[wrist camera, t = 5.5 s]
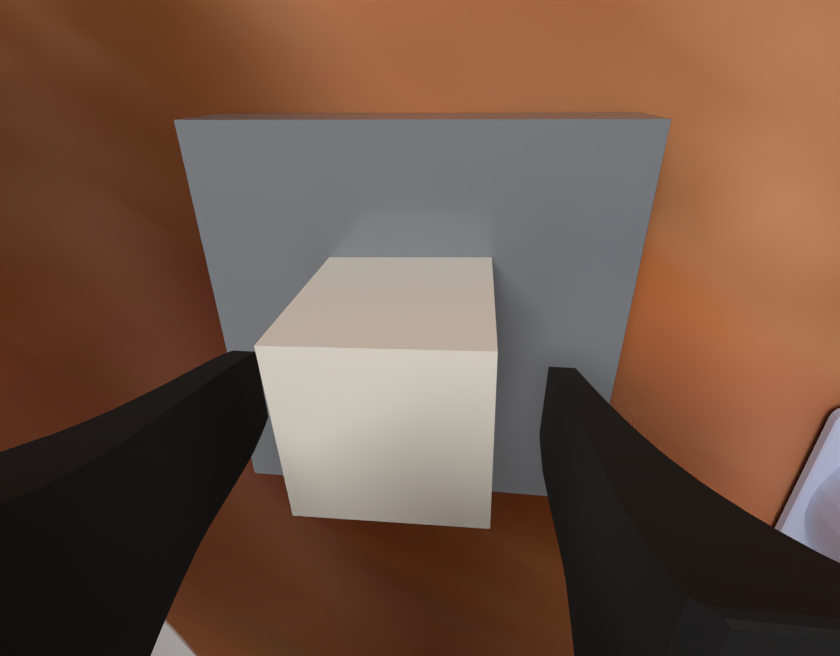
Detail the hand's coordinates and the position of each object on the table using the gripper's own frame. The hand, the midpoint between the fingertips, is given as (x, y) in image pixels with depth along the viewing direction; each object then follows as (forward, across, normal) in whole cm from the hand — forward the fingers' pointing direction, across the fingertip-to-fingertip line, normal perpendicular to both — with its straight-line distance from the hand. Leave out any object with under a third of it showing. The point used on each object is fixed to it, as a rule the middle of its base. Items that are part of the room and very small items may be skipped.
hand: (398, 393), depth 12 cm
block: (+3, 0, 0) cm, 3 cm away
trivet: (+5, 0, 0) cm, 5 cm away
